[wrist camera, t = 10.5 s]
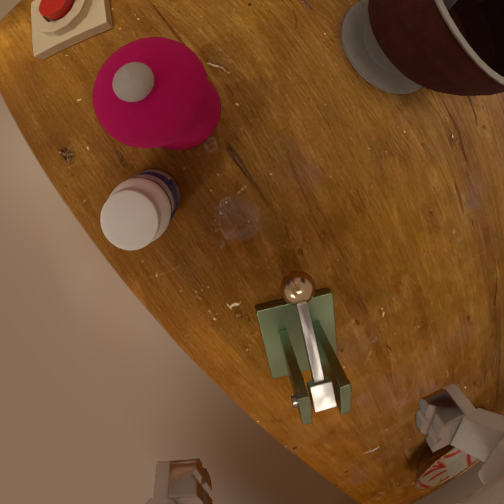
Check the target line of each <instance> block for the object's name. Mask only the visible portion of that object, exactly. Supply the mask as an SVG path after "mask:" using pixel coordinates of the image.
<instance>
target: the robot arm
mask: <svg viewBox="0 0 504 504" xmlns="http://www.w3.org/2000/svg"><path fill="white" fill-rule="evenodd" d="M418 406H419V407H420V408H419V409H418V410H417V412H416V415H415V422H416V425H417V428H418V430H419V431H420V433H422V434H425V435H426V440H425V441H426V443H427V444H428V446H429V448H430V449H431V451H432V452H435V451H437V450H439V449H441V448H443V447H445V446H447V445H449V444H450V445H452V446H454V447H456V448H458V449H460V450H461V451H463V452H465V453H467V454H469V455H471V456H473V457H475V458H477V459H479V460H481V461H483V462H485V463H484V464H483V466H482V467H481V468H480V470H479V472H478V476H479V477H480V479H481V481H482V482H483V484H484V486H482V487H481V488H479V489H478V490H476V491H475V492H473V493H472V494H470V495H468V496H467V497H465V498H464V499H462V500H460V501H459V502H457V503H455V504H504V416H503V415H500V414H497V413H493V412H490V411H487V410H484V409H481V408H477V409H476V408H475V407H474V406H473V405H472V403H471V402H470V401H469V400H468V399H467V397H466V396H465V395H464V394H463V393H462V391H461V390H460V389H459V388H458V387H457V385H455V384H450V385H448V386H446V387H444V388H442V389H440V390H438V391H436V392H434V393H432V394H430V395H427V396H425V397H423V398H421V399H420V400H419V403H418ZM211 490H212V487H211V480H210V476H209V473H208V471H207V469H206V468H203V467H202V462H201V461H200V459H190V460H178V461H160V462H158V463H157V465H156V473H155V485H154V497H153V499H149V500H148V502H147V503H146V504H212V499H211V498H210V496H209V495H208V494H209V493H210V491H211Z"/></svg>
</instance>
